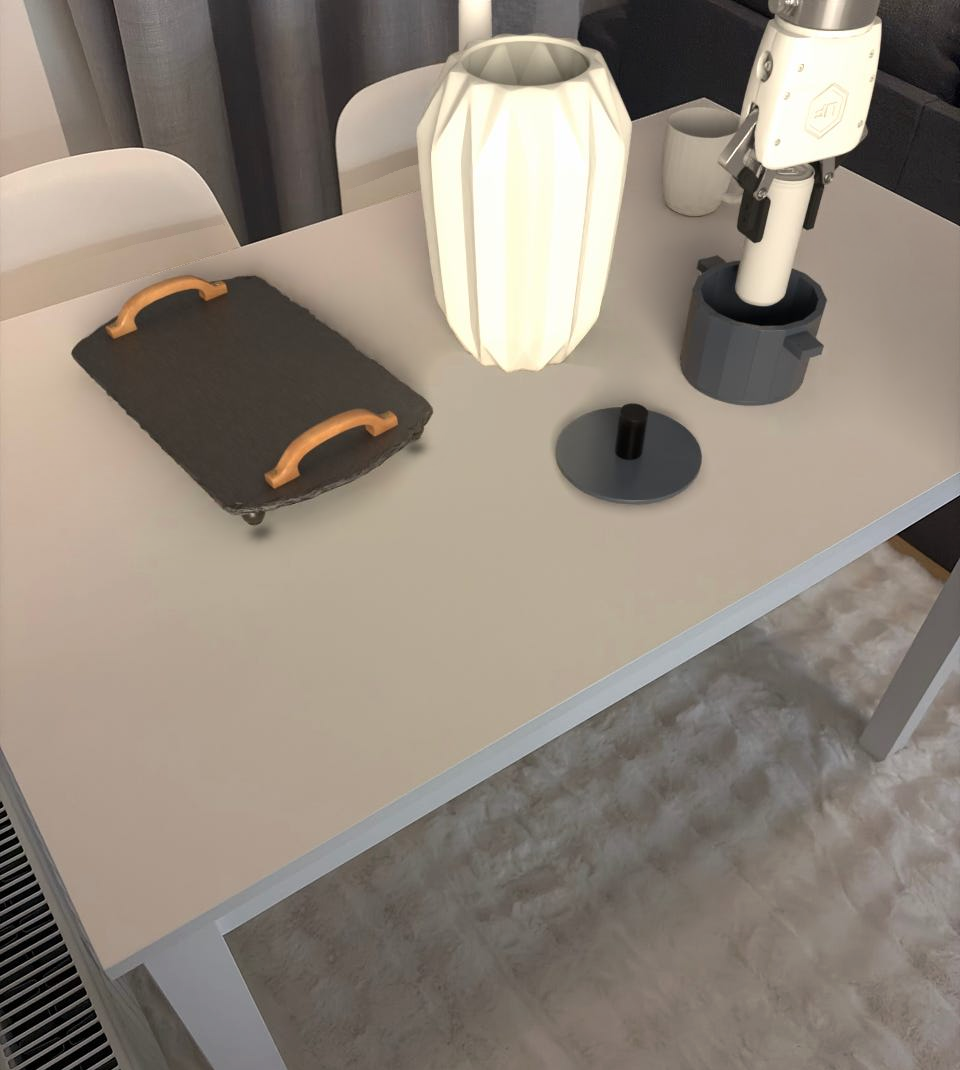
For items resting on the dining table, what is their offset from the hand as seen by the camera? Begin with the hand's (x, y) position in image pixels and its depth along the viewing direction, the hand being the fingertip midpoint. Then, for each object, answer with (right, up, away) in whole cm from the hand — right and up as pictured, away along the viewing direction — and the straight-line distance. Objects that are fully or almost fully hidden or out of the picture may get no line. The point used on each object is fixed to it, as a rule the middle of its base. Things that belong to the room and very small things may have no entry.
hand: (774, 227), depth 87 cm
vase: (-23, -6, +15) cm, 28 cm away
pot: (0, -10, +12) cm, 15 cm away
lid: (-13, -21, +2) cm, 24 cm away
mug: (+2, +17, +34) cm, 38 cm away
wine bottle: (-27, +8, +27) cm, 39 cm away
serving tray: (-50, -14, +9) cm, 53 cm away
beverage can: (0, -4, +5) cm, 7 cm away
